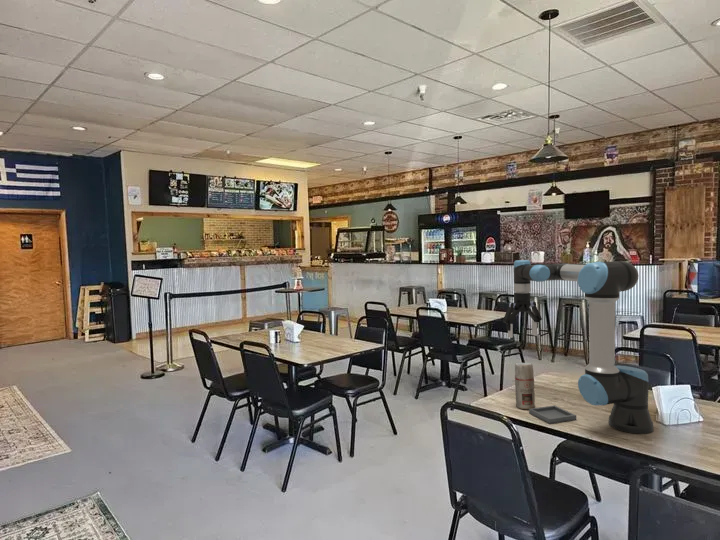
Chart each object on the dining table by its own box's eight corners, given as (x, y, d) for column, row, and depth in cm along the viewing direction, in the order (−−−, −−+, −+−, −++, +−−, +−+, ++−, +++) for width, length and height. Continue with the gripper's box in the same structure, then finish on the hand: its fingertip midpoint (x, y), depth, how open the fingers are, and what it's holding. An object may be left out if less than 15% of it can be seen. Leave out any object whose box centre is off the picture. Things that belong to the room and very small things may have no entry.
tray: (576, 420, 189) (576, 415, 189) (549, 424, 185) (549, 419, 185) (554, 409, 202) (554, 405, 202) (528, 413, 198) (528, 408, 198)
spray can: (513, 408, 204) (513, 363, 204) (516, 402, 212) (516, 359, 211) (533, 411, 200) (533, 365, 200) (536, 405, 208) (536, 361, 207)
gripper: (539, 290, 230) (539, 333, 231) (495, 292, 223) (495, 336, 223) (549, 291, 222) (549, 335, 223) (504, 294, 215) (504, 339, 216)
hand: (522, 336), depth 223 cm, fingers open, 13 cm apart
